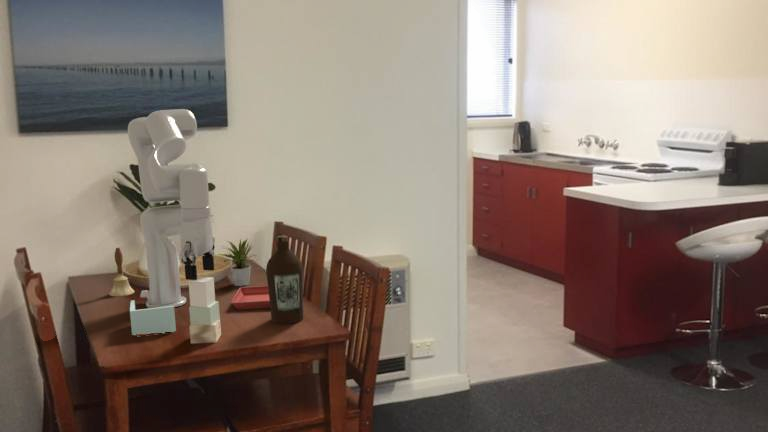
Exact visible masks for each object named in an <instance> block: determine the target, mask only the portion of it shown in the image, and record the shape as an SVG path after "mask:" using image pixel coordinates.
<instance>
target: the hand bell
mask: <svg viewBox="0 0 768 432" xmlns="http://www.w3.org/2000/svg"><path fill="white" fill-rule="evenodd" d="M123 256H124V255H123V252H122V250H121V248H120V247H116V248H115V252H114V261H115V264H116V267H117V268H116V270H117V276H116V277H115V278H114V279H113V287H112V288H111V291H110V292H109V293H108V295H109V296H110V297H125V296H130V295H133V294H135V292H136V291H135V290H134V289H133V288H132V287H131V285H130V283H129V280H128V279H129V278H128V277H127V276H125V275H124V271H123V262H124V260H123V259H124V257H123Z"/></svg>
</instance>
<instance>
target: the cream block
mask: <svg viewBox="0 0 768 432" xmlns="http://www.w3.org/2000/svg"><path fill="white" fill-rule="evenodd" d="M214 278H215V277H211V276H210V277H209V276H206V277H204V276H197V279H196V280H188V291H189V292H188V293H189V304H190V306H191V307H208V306H210V305H212V304H213V303H215V301H216V291H215V279H214ZM190 306H189V307H190Z"/></svg>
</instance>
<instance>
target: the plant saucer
mask: <svg viewBox="0 0 768 432" xmlns="http://www.w3.org/2000/svg"><path fill="white" fill-rule="evenodd" d="M230 303H231V305H232V306H234V307H235V308H236V310H237V309H238V310H249V309H250V310H251V309H252V310H254V309H270V299H269V291H268V285H262V286H260V285H259V286H241V287H239V288H238V289H237V291H236V294H235V295H234V297H233V298H232V299H231V302H230Z"/></svg>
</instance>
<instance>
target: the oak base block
mask: <svg viewBox="0 0 768 432" xmlns="http://www.w3.org/2000/svg"><path fill="white" fill-rule="evenodd" d="M221 328H222V325H221V318H220V319H219V320H217V321H216V322H215V323H214V324H212V325H191V324H190V325H189V338H190V344H211V343H214V344H215V343H217V342H218V341H219V339H220V337H221V335H222V329H221Z"/></svg>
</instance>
